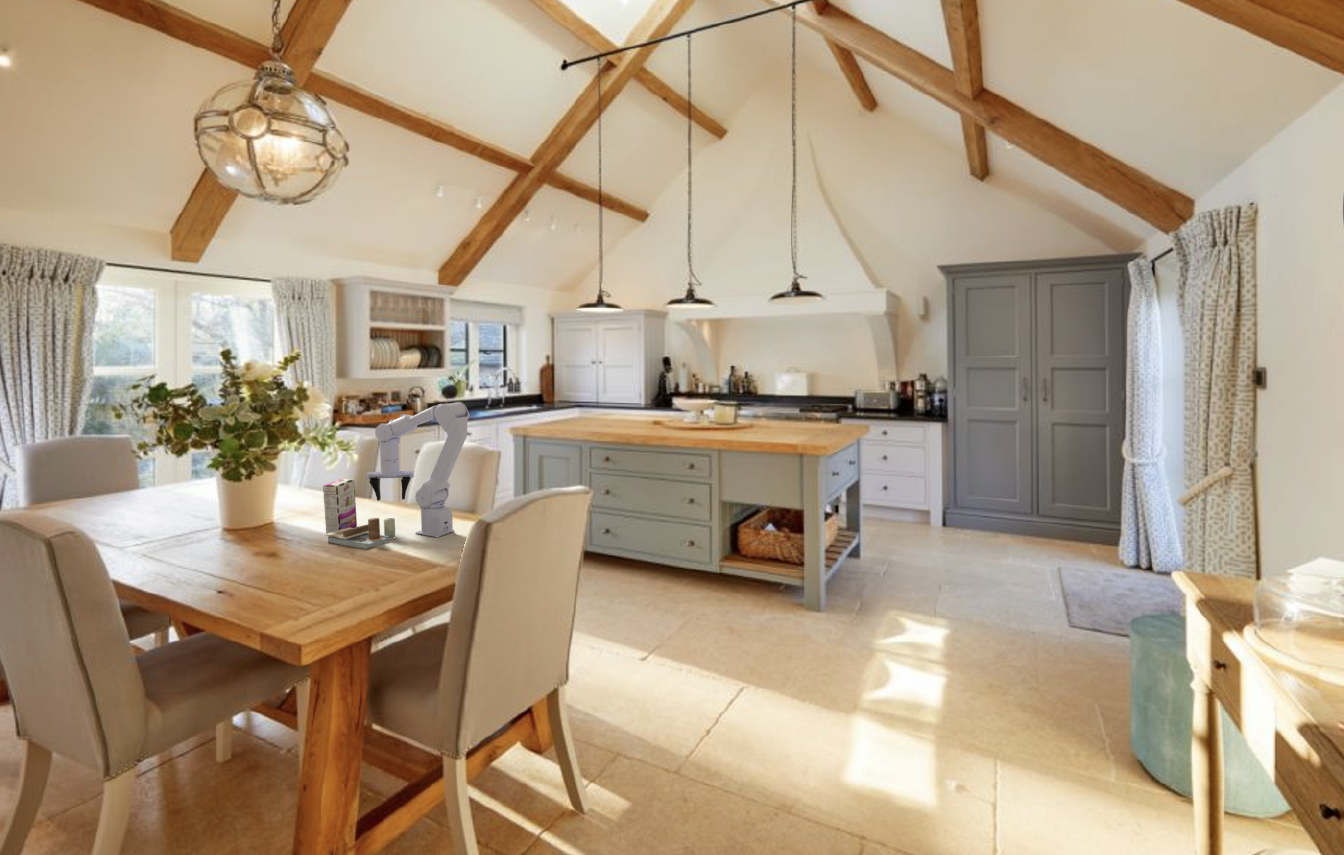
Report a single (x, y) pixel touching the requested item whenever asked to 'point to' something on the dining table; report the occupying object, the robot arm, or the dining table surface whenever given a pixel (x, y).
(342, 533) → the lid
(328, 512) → the candy bar box
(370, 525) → the walnut peg
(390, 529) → the sage peg
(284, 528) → the dining table surface
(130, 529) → the dining table surface
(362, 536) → the board
